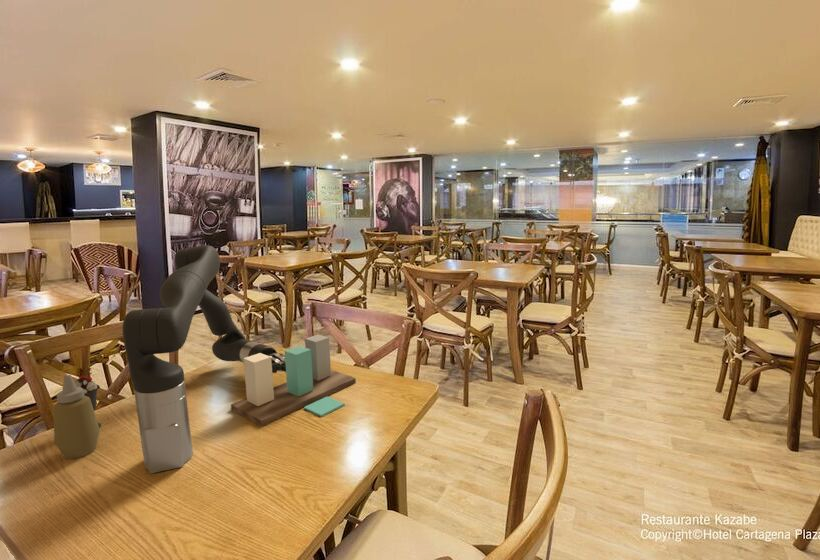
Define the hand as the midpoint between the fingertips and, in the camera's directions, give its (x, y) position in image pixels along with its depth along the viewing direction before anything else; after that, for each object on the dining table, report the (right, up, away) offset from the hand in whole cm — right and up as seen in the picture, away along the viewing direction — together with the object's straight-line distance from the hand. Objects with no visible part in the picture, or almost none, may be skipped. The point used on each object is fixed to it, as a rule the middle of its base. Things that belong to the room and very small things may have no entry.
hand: (293, 369), depth 125 cm
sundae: (-46, -11, -16) cm, 50 cm away
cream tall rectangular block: (-7, -7, -6) cm, 12 cm away
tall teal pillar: (+2, -6, 0) cm, 6 cm away
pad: (+10, -9, -6) cm, 15 cm away
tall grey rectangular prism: (+5, -4, +10) cm, 12 cm away
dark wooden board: (+1, -7, +1) cm, 8 cm away
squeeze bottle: (-41, -13, -26) cm, 50 cm away
